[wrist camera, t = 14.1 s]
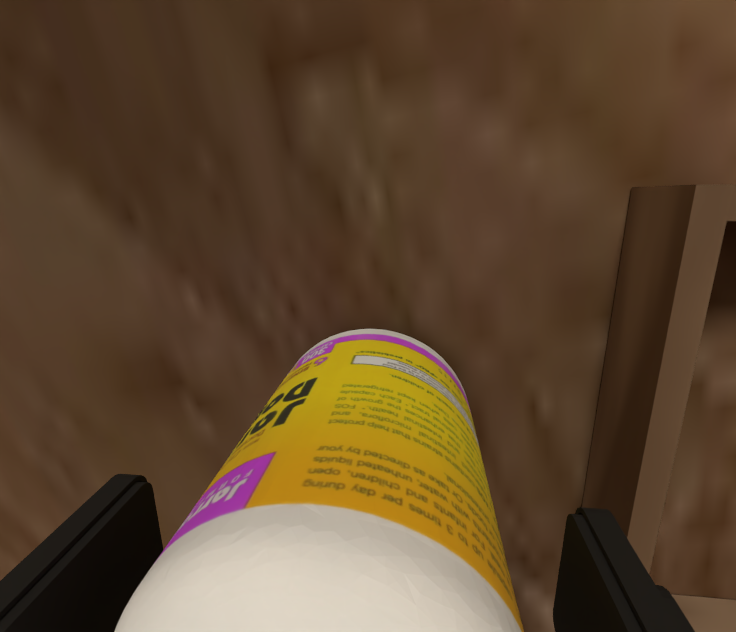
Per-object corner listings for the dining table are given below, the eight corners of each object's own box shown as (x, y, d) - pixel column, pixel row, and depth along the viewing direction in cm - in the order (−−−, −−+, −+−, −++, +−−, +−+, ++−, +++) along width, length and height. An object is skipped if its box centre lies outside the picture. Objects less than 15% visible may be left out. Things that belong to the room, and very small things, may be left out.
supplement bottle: (335, 287, 14) (-164, 864, 2) (505, 382, 15) (1000, 1409, 2) (256, 436, 16) (-244, 1196, 4) (407, 517, 16) (384, 1468, 4)
